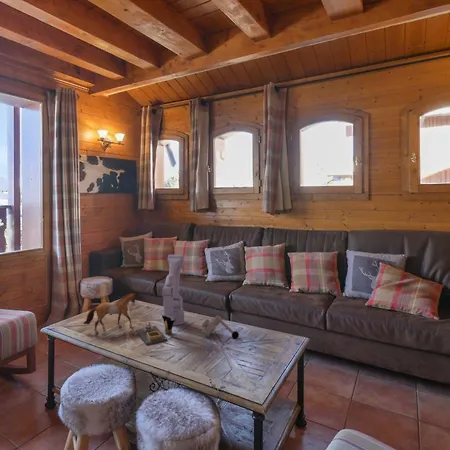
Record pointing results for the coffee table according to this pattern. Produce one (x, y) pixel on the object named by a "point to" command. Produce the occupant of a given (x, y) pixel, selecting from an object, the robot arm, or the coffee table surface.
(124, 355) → the coffee table surface
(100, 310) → the horse figurine
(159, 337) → the plate
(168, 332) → the brass fitting
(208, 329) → the valve
